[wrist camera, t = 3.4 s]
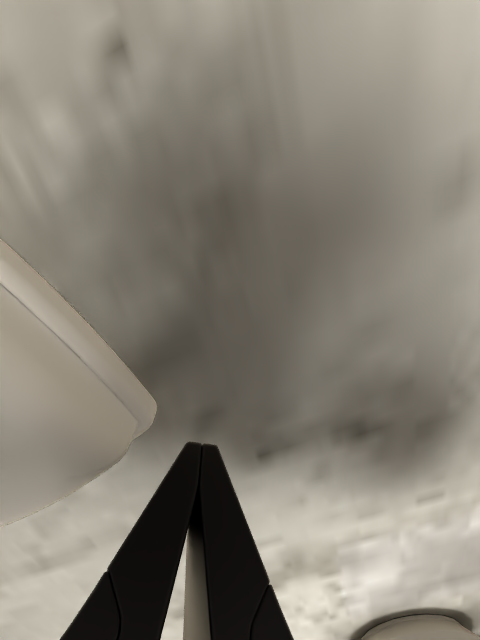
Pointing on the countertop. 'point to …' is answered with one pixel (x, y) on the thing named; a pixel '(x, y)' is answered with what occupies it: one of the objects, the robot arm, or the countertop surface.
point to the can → (420, 629)
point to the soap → (57, 395)
